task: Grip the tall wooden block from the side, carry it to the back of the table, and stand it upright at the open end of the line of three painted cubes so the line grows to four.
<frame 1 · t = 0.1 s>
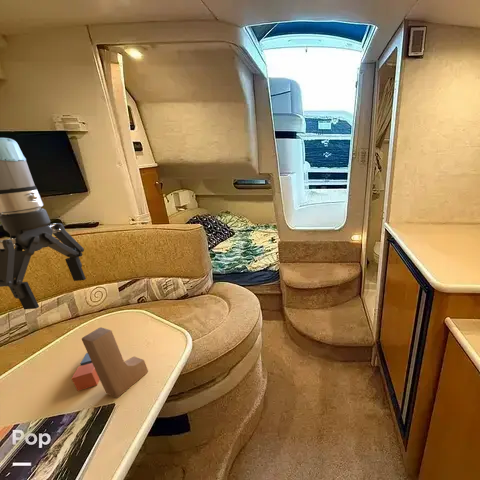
hand: (58, 292, 68), 27 cm above the table, tool pointing down, fingers open, 13 cm apart
cube row: (112, 337, 92), on the table
wooden block: (128, 383, 73), on the table
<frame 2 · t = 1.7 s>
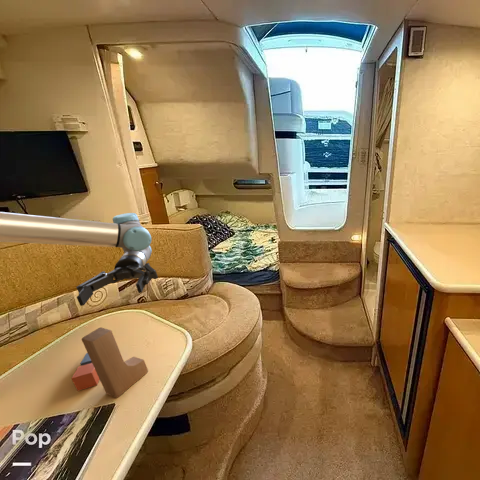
hand: (110, 294, 73), 23 cm above the table, tool horizontal, fingers open, 13 cm apart
nothing on the table moved.
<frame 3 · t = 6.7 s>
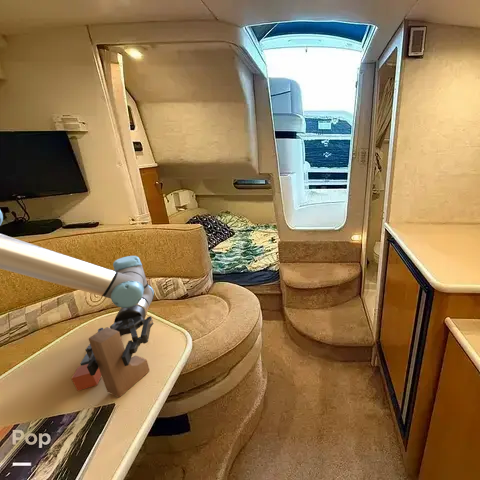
hand: (108, 366, 65), 11 cm above the table, tool horizontal, fingers closed on wooden block, 6 cm apart
wooden block: (129, 381, 73), on the table, touching gripper
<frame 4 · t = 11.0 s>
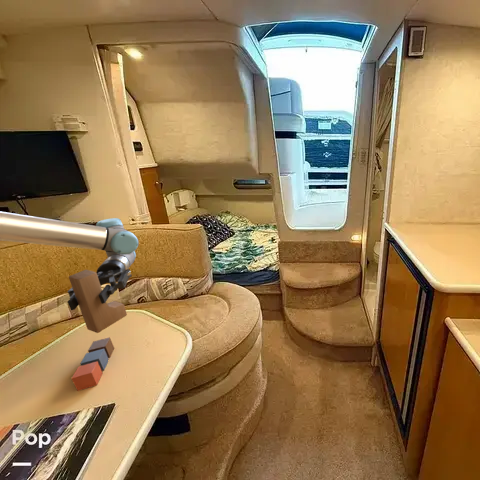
hand: (86, 302, 73), 21 cm above the table, tool horizontal, fingers closed on wooden block, 6 cm apart
wooden block: (108, 322, 82), point 11 cm above the table, touching gripper
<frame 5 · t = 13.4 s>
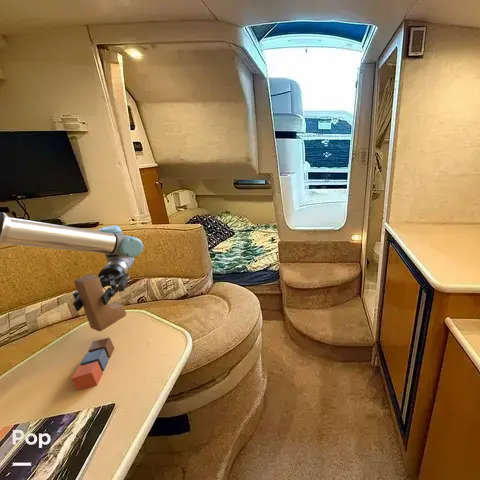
hand: (90, 303, 82), 16 cm above the table, tool horizontal, fingers closed on wooden block, 6 cm apart
wooden block: (109, 322, 90), point 6 cm above the table, touching gripper
when the fingers open (11 cm above the table, at t = 15.4 s): wooden block stays where it is, on the table.
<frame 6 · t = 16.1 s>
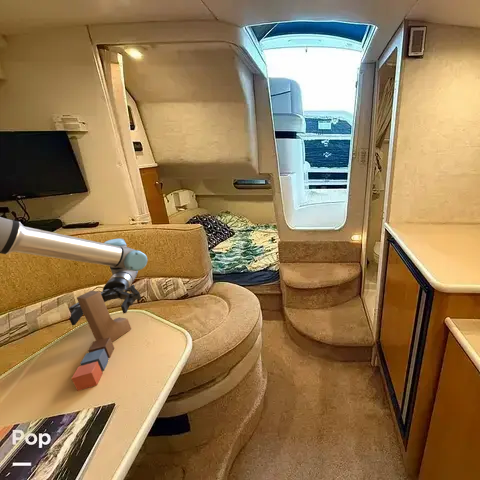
hand: (98, 315, 85), 11 cm above the table, tool horizontal, fingers open, 13 cm apart
wooden block: (115, 336, 92), on the table
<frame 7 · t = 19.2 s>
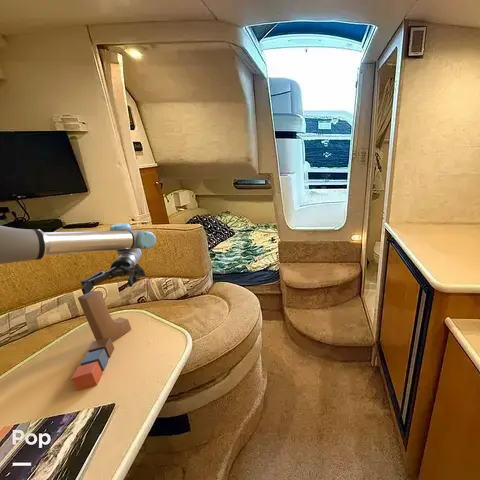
hand: (107, 287, 95), 15 cm above the table, tool horizontal, fingers open, 13 cm apart
nothing on the table moved.
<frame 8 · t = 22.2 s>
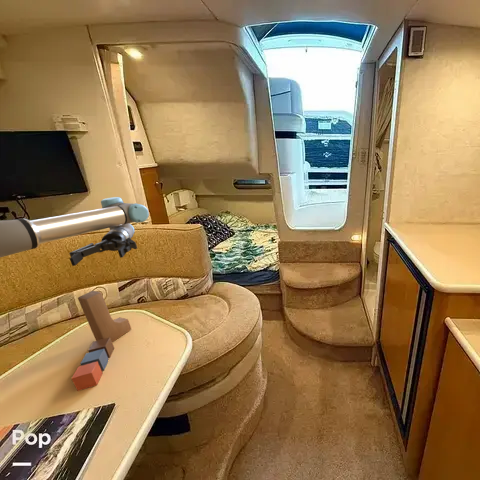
hand: (96, 258, 91), 26 cm above the table, tool horizontal, fingers open, 13 cm apart
nothing on the table moved.
at the end: wooden block 0.7 cm off-centre on the cube row, point 0.0 cm above the cube row's base; wooden block tilted 0°; the gripper is holding nothing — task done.
